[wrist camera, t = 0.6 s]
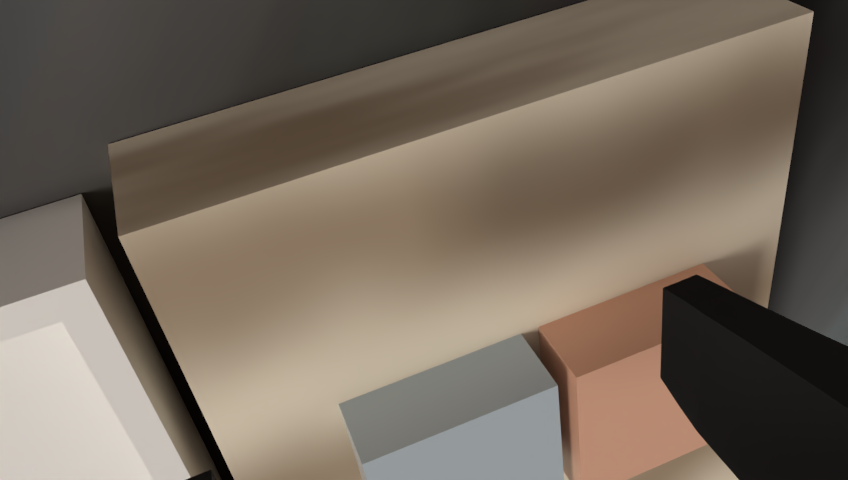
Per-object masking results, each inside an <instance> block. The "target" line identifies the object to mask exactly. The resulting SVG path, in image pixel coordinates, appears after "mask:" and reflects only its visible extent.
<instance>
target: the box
mask: <svg viewBox="0 0 848 480" xmlns="http://www.w3.org/2000/svg"><path fill="white" fill-rule="evenodd" d="M208 470H212V472H213V474H214V476H215V478H216V479H217V480H222V478H221V476H220V474H219V472H218V470H217V468H216V466H215V464H214V462H213V460H212V458H211V456H210V454H209V452H208V450H207V448H206V446H205V444H204V442H203V440H202V438H201V436H200V434H199V432H198V430H197V428H196V426H195V424H194V422H193V420H192V417H191V415H190V413H189V411H188V409H187V407H186V405H185V403H184V401H183V399H182V397H181V395H180V393H179V391H178V389H177V387H176V385H175V383H174V381H173V379H172V377H171V375H170V373H169V371H168V369H167V367H166V365H165V363H164V361H163V359H162V357H161V355H160V353H159V351H158V348H157V346H156V344H155V342H154V340H153V338H152V336H151V334H150V332H149V330H148V328H147V326H146V324H145V322H144V320H143V318H142V316H141V314H140V312H139V310H138V308H137V306H136V304H135V302H134V300H133V298H132V296H131V294H130V292H129V290H128V288H127V286H126V284H125V282H124V279H123V277H122V275H121V273H120V271H119V269H118V267H117V265H116V263H115V261H114V259H113V257H112V255H111V253H110V251H109V249H108V247H107V245H106V243H105V241H104V239H103V237H102V235H101V233H100V231H99V229H98V227H97V225H96V223H95V221H94V219H93V217H92V215H91V212H90V210H89V208H88V206H87V204H86V202H85V200H84V198H83V196H82V194H79V195H76V196H73V197H70V198H66V199H63V200H60V201H57V202H53V203H50V204H47V205H44V206H41V207H37V208H34V209H31V210H28V211H24V212H21V213H18V214H15V215H12V216H8V217H5V218H2V219H0V480H186V479H188V478H191V477H193V476H196V475H198V474H201V473H203V472H206V471H208Z"/></svg>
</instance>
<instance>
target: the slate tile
mask: <svg viewBox="0 0 848 480" xmlns="http://www.w3.org/2000/svg"><path fill="white" fill-rule="evenodd" d="M339 408H340V411H341V414H342V417H343V420H344V423H345V426H346V430H347V433H348V436H349V439H350V442H351V445H352V448H353V452H354V455H355V458H356V461H357V464H358V467H359V471H360V474H361V477H362V480H564V471H563V456H562V440H561V425H560V409H559V394H558V385H557V383H556V382H555V381H554V379H553V378H552V376H551V375H550V374H549V372H548V371H547V369H546V368H545V367H544V365H543V364H542V362H541V361H540V360H539V358H538V357H537V355H536V354H535V353H534V351H533V350H532V348H531V347H530V346H529V344H528V343H527V342H526V340H525V339H524V337H523V336H522V335H521V334H519V335H516V336H514V337H511V338H508V339H506V340H503V341H501V342H498V343H495V344H493V345H490V346H488V347H485V348H482V349H480V350H477V351H475V352H472V353H469V354H467V355H464V356H462V357H459V358H457V359H454V360H451V361H449V362H446V363H444V364H441V365H438V366H436V367H433V368H431V369H428V370H425V371H423V372H420V373H418V374H415V375H412V376H410V377H407V378H405V379H402V380H400V381H397V382H394V383H392V384H389V385H387V386H384V387H381V388H379V389H376V390H374V391H371V392H368V393H366V394H363V395H361V396H358V397H356V398H353V399H350V400H348V401H345V402H343V403H340V404H339Z"/></svg>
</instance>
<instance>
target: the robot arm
mask: <svg viewBox="0 0 848 480" xmlns="http://www.w3.org/2000/svg"><path fill="white" fill-rule="evenodd" d="M660 378H661V379H662V381H663V382H664V384H665V385H666V387H667V388H668V390H669V391H670V393H671V394H672V396H673V398H674V399H675V401H676V402H677V404H678V405H679V407H680V408H681V409H682V411H683V412H684V414H685V415H686V417H687V418H688V419H689V421H690V422H691V424H692V425H693V427H694V428H695V429H696V431H697V432H698V433H699V434H700V436H701V437H702V438H703V439H704V440H705V441H706V443H707V444H708V445H709V446H710V447H711V448H712V449H713V451H714V452H715V453H716V454H717V455H718V456H719V458H720V459H721V460H722V461H723V462H724V463H725V464H726V466H727V467H728V468H729V469H730V470H731V471H732V472H733V474H734V475H735V476H736V477H737V478H738V479H739V480H848V346H846V345H844V344H841V343H839V342H837V341H835V340H833V339H830V338H828V337H826V336H824V335H822V334H819V333H817V332H815V331H813V330H811V329H809V328H807V327H804V326H802V325H800V324H798V323H796V322H794V321H792V320H790V319H788V318H786V317H784V316H782V315H779V314H777V313H775V312H773V311H771V310H769V309H767V308H765V307H763V306H761V305H759V304H757V303H755V302H753V301H751V300H749V299H747V298H745V297H743V296H741V295H739V294H737V293H735V292H733V291H731V290H728V289H726V288H724V287H722V286H720V285H718V284H716V283H714V282H712V281H710V280H708V279H706V278H703V277H701V276H699V275H697V274H696V275H694V276H691V277H689V278H686V279H684V280H681V281H679V282H676V283H674V284H671V285H669V286H666V287H664V288H663V301H662V335H661V370H660ZM186 480H217V479H216V478H215V476H214V474H213V472H212V470H208V471H206V472H203V473H201V474H198V475H196V476H193V477H191V478H188V479H186Z"/></svg>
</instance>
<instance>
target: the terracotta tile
mask: <svg viewBox="0 0 848 480" xmlns="http://www.w3.org/2000/svg"><path fill="white" fill-rule="evenodd" d="M696 274H697V275H699V276H701V277H703V278H706V279H708V280H710V281H712V282H714V283H716V284H718V285H720V286H722V287H724V288H726V289H728V290H731V291H733V290H732V289H730V288H729V287H728V286H727V285H726V284H725V283H724V282H723V281H721V280H720V279H719V278H718V277H717V276H716V275H715V274H714V273H713V272H711V271H710V270H709V269H708V268H707V267H706V266H705V265H704V264H700V265H697V266H695V267H692V268H690V269H687V270H684V271H682V272H679V273H677V274H674V275H672V276H669V277H666V278H664V279H661V280H659V281H656V282H653V283H651V284H648V285H646V286H643V287H640V288H638V289H635V290H633V291H630V292H627V293H625V294H622V295H620V296H617V297H615V298H612V299H609V300H607V301H604V302H602V303H599V304H596V305H594V306H591V307H589V308H586V309H583V310H581V311H578V312H576V313H573V314H571V315H568V316H565V317H563V318H560V319H558V320H555V321H552V322H550V323H547V324H545V325H542V326H539V327H538V331H539V343H540V355H541V362H542V364H543V365H544V367H545V368H546V369H547V371H548V372H549V374H550V375H551V376H552V378H553V379H554V381H555V382H556V383H557V385H558V394H559V409H560V425H561V440H562V456H563V471H564V473H565V474H566V476H567V477H568V479H569V480H628V479H630V478H632V477H634V476H637V475H639V474H641V473H643V472H646V471H648V470H650V469H653V468H655V467H657V466H659V465H662V464H664V463H666V462H669V461H671V460H673V459H675V458H678V457H680V456H682V455H684V454H687V453H689V452H691V451H694V450H696V449H698V448H700V447H703V446H705V445H707V443H706V441H705V440H704V439H703V438H702V437H701V436H700V434H699V433H698V432H697V431H696V429H695V428H694V427H693V425H692V424H691V422H690V421H689V419H688V418H687V417H686V415H685V414H684V412H683V411H682V409H681V408H680V407H679V405H678V404H677V402H676V401H675V399H674V398H673V396H672V394H671V393H670V391H669V390H668V388H667V387H666V385H665V384H664V382H663V381H662V379H661V378H660V370H661V335H662V301H663V288H664V287H666V286H669V285H671V284H674V283H676V282H679V281H681V280H684V279H686V278H689V277H691V276H694V275H696ZM733 292H734V291H733Z"/></svg>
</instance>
